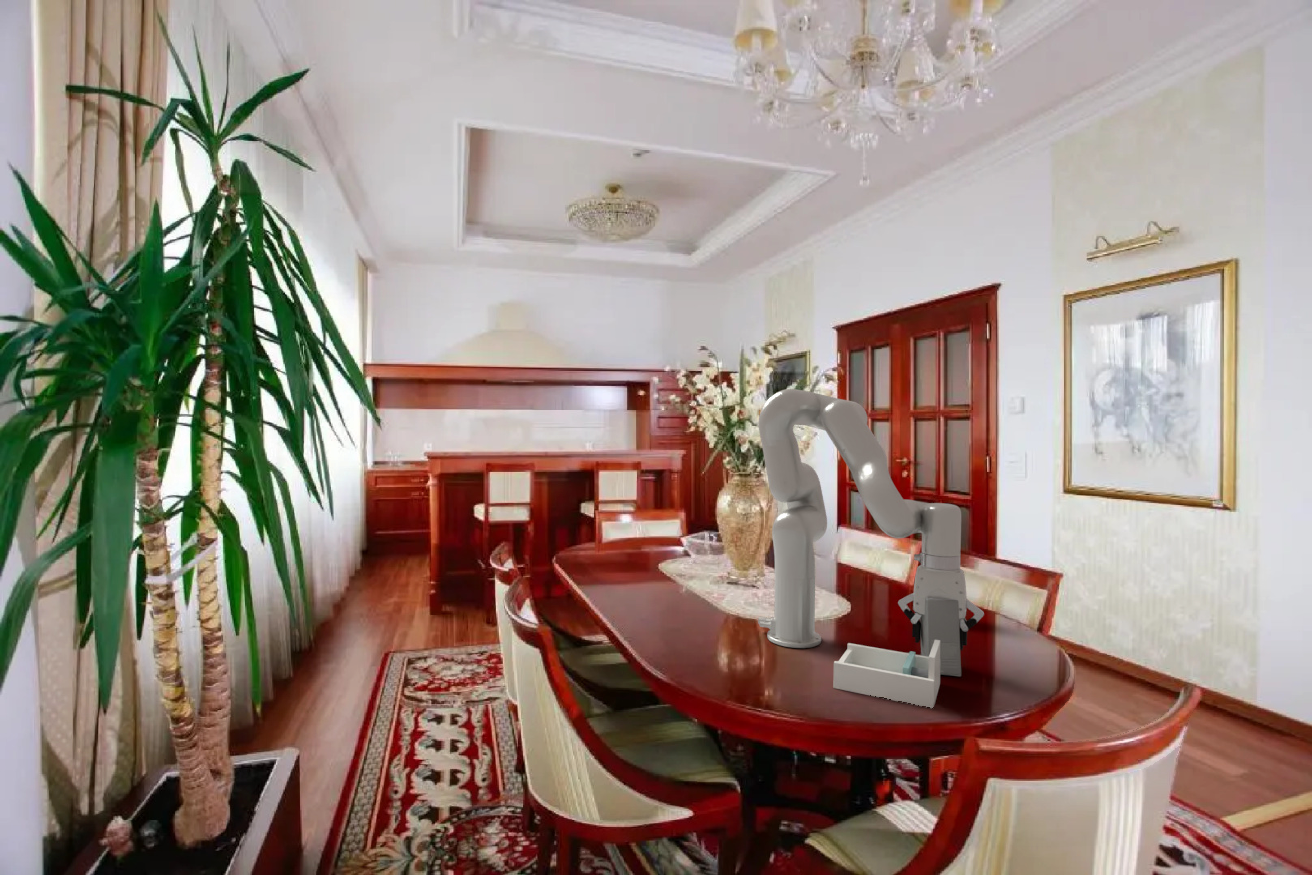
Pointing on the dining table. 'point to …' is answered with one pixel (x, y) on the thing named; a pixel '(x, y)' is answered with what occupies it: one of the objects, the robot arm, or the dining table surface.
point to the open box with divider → (888, 674)
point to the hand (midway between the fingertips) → (939, 644)
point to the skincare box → (942, 633)
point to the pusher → (913, 667)
